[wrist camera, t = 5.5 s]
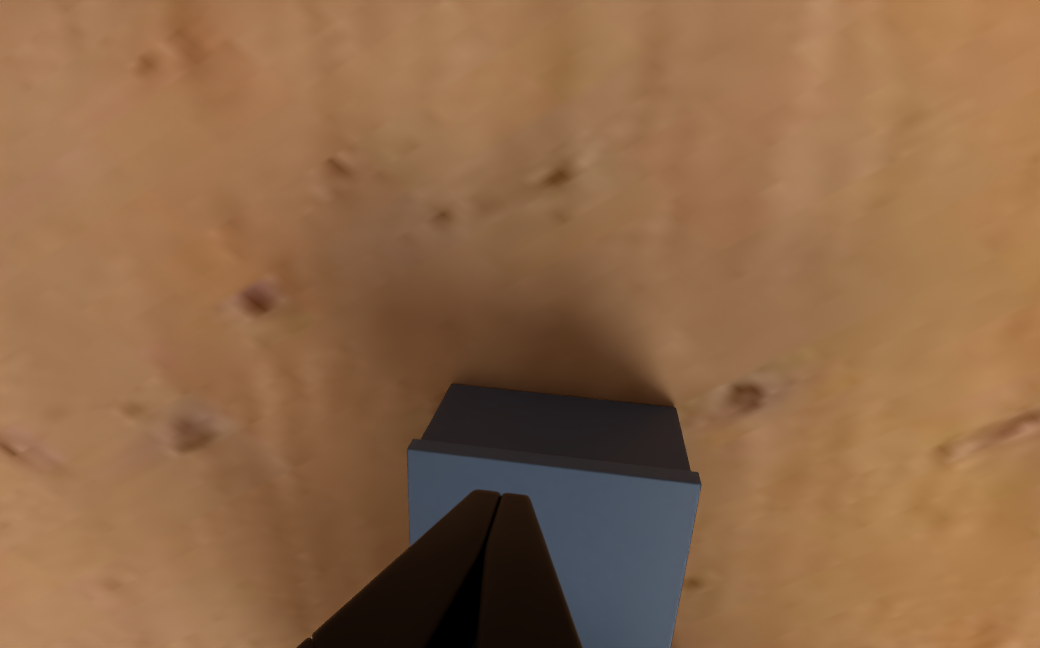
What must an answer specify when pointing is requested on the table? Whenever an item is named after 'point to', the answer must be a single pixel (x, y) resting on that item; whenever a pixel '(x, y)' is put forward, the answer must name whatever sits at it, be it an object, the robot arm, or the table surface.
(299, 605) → the table surface
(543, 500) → the storage box
